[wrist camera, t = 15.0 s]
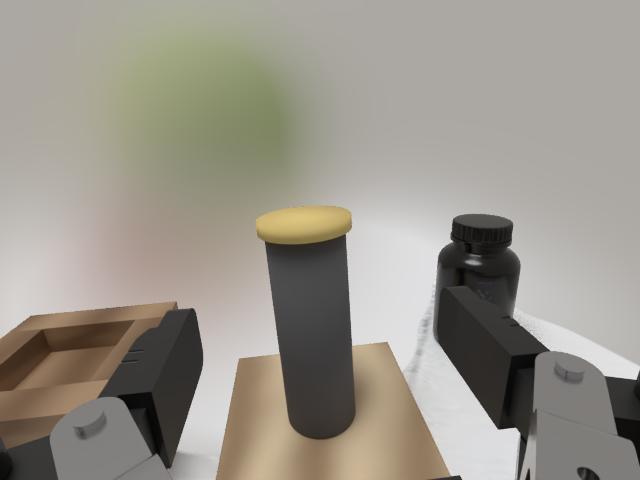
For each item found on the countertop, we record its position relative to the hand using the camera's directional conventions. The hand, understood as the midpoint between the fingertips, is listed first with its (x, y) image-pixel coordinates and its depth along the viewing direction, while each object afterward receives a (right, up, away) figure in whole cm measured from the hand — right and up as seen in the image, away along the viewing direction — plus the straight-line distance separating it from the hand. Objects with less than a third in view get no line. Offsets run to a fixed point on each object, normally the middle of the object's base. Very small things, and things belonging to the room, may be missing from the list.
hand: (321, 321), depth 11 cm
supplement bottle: (+15, -7, +23) cm, 28 cm away
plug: (0, -10, +14) cm, 17 cm away
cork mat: (0, -10, +15) cm, 18 cm away
